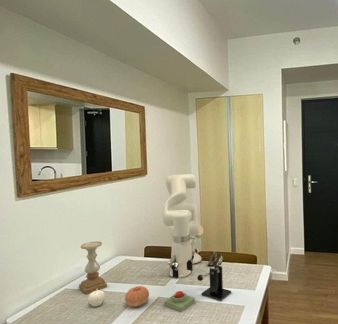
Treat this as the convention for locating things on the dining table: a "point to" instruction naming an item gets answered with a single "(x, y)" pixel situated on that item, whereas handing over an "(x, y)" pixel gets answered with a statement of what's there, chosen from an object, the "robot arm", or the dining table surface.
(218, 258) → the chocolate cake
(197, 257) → the flower in vase
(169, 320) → the dining table surface
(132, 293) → the orange pumpkin
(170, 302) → the control block
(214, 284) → the bracket
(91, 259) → the candle holder
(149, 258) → the dining table surface
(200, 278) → the lever
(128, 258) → the dining table surface
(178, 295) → the button
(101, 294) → the plain white apple
